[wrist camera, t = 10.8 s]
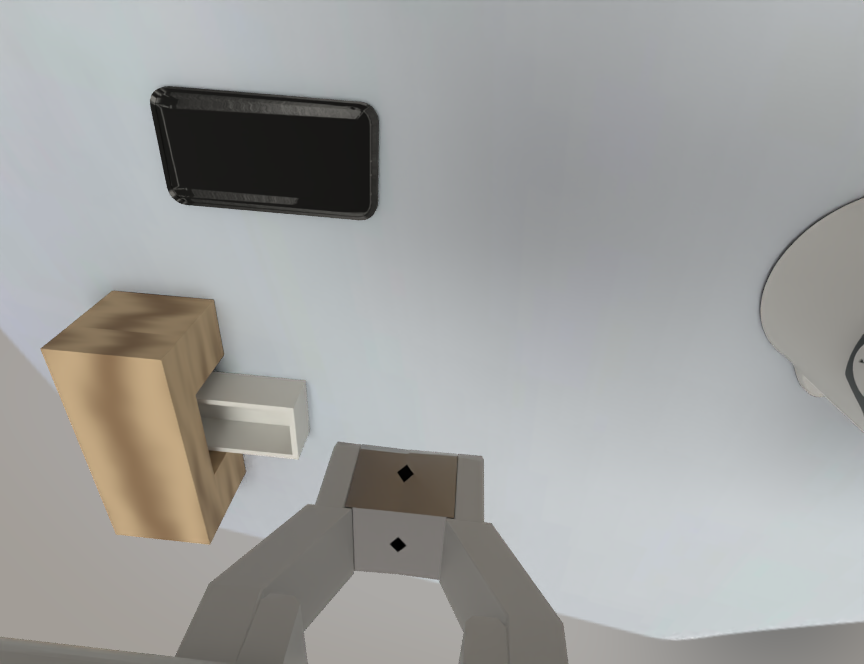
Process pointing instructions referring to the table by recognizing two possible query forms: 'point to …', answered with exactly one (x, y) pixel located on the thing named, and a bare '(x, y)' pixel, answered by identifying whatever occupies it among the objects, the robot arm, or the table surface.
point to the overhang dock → (147, 412)
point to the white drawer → (254, 414)
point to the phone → (268, 152)
